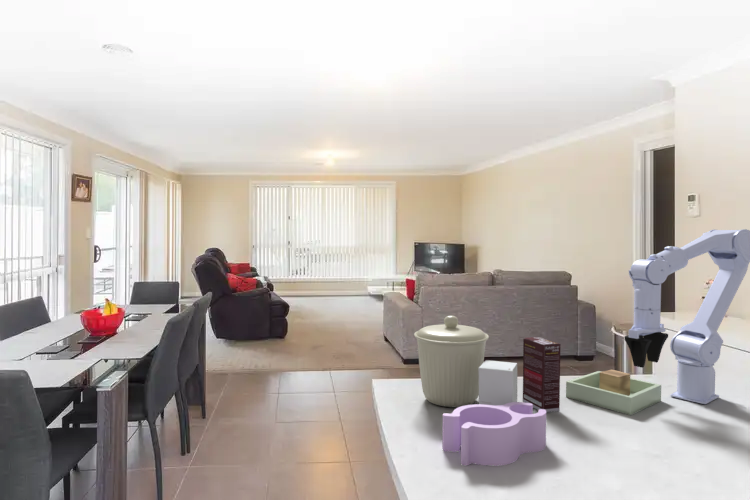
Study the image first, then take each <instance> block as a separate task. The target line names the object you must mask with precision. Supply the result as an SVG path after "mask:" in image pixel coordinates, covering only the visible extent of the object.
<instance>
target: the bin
mask: <svg viewBox="0 0 750 500" xmlns="http://www.w3.org/2000/svg"><path fill="white" fill-rule="evenodd" d="M600 372H602V371H600V370H597V371H595V372H591V373H588V374H585V375H581V376H579V377H576V378H572V379H569V380H567V381H565V398H568V399H571V400H574V401H577V402H582V403H586V404H589V405H592V406H596V407H599V408H604V409H607V410H610V411H614V412H617V413H622V414H624V415H628V416H631V415H634V414H636V413H639V412H641V411H643V410H645V409H647V408H649V407H651V406H654V405H656V404H657V403H660V402H661V401H662V384H658V383H655V382H651V381H650V382H649V381H646V380H642V379H636V378H632V377H630V395H629V396H627V395H623V394H619V393H615V392H611V391H607V390H603V389H599V388H600Z"/></svg>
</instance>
